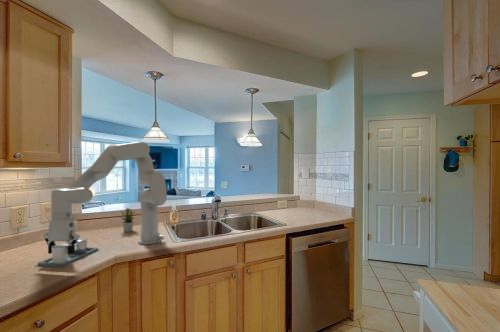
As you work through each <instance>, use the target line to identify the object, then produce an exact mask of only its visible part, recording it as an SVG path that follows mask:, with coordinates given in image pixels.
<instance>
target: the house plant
mask: <svg viewBox="0 0 500 332" xmlns="http://www.w3.org/2000/svg"><path fill="white" fill-rule="evenodd" d="M117 210H119V209H117ZM120 212H121V214H122V215H119V217H118V219H120V218H121V219H122V229H123V232H125V233H127V232H132V231H133V228H134V222H135V221H134V219H135V216H136V215H137V214H135V211H133V209H132V208H131V207H129V208H128V207H126V209H125V213H124V211H123V210H122V209H120ZM134 214H135V215H134ZM137 216H138V215H137Z"/></svg>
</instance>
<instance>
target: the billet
mask: <svg viewBox="0 0 500 332" xmlns="http://www.w3.org/2000/svg"><path fill="white" fill-rule="evenodd" d="M87 247H88V238H79V239H78V242H77V243H76V244H75V252H74V253H73V254H74V255H81V254H84V253H86V252H87Z"/></svg>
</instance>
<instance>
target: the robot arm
mask: <svg viewBox="0 0 500 332" xmlns="http://www.w3.org/2000/svg"><path fill="white" fill-rule="evenodd" d="M150 149H151V148H150V146H149V144H148V143H146V142H144V141H132V142H129V143H120V144H119V143H118V144H110V145H108V146H107V147H106V148H105V149H104V150H103V151H102V152H101V154H100V155H99V156H98V157H97V158H96V160H95V161H94V163H92V165H91V166H89V168H88V169H86V170H85V171H84V172H82V174H81V175H79V177H77V178H76V179H75V181H74V182H73V183H72V184H71V186H70V187H69V188H55V189H53V190H52V191H51V195H50V196H51V198H50V199H51V203H50V210H51V211H50V217H51V218H50V220H49V225H48V231H47V232H46V233H44V234H43V235H42V236H43V238H44V241H45V242H46V245H47V246H48V247H47V253H48V254H49V255H50V254H51V255H52V246H54V245H57V244H56V242H64V243H67V244H68V245H69V246H68V255H70V254H73V253H74V252H75V244H76V243H77V242H78V239H80V238H81V236H80V234H78V233H76V223H75V220H74V218H73V217H74V214H73V213H72V211H73V204H79V205H80V204H81V205H82V204H88V203H89V202H90V201H91V200H92V199H93V196H94V195H93V194H94V193H93V191H92V190H91V189H90V188H91V187H92V186H93V185H94V184H95V183H97V182H98V181H100V180H102V179H104V178H106V177H107V176H109V174H110V173H111V172H112V170H113V169H114V167H116V165H117V164H118V163H119V161H120V162H121V161H123V162H124V161H130V160H134V161H135V163H136V166H137V172H138V179H139V183H140V185H142V186H144V187H146V188H145V189H143V190H142V191H141V192H140V194H139V201H140V212H141V214H140V216H141V217H140V238H139V239H138V240H137V243H138V244H140V245H154V244H158V243H159V242H161V240H162V241H163V240H164V238H165V236H164V235H163V234H162V235H160V234H161V233H160V232H159V207H161V206H163V205H164V204H165V203H166V202H167V200H168V199H167V198H168V195H167V194H168V193H167V187H166V179H165V176H164V174H163V173H162V172H160V171H159V170H155V169H154V168H155V167H154V164H153V163H154V162H153V159H152V157H151V155H150V151H151V150H150Z"/></svg>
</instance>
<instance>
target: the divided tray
mask: <svg viewBox="0 0 500 332" xmlns="http://www.w3.org/2000/svg"><path fill="white" fill-rule="evenodd" d="M100 251H101V249H99V248H98V247H89V246H87V252H86V253H84V254H81V255H74V254H70V255H69V258H68V261H66V262H62V263H53V257H52V256H50V257H49V258H46V259H44V260H41V261H38V262H37V264H35V265H34V267H38V268H51V269H64V268H65V267H68V266H69V265H70V266H71V264H73V263H76V262H78V261H81V260H84V259H85V258H86V257H90V256H91V255H93V254H95V253H97V252H100Z"/></svg>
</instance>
